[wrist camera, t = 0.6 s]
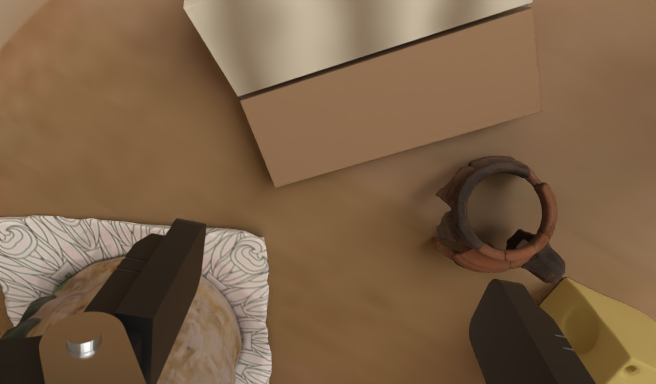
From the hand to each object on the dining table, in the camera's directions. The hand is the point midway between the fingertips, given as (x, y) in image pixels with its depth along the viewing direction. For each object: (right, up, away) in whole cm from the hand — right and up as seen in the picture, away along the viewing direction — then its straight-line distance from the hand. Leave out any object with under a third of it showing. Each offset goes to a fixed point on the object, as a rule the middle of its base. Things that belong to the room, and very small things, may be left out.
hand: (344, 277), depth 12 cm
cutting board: (+3, +13, +18) cm, 23 cm away
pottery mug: (+13, +1, +25) cm, 28 cm away
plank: (+2, +15, +14) cm, 21 cm away
